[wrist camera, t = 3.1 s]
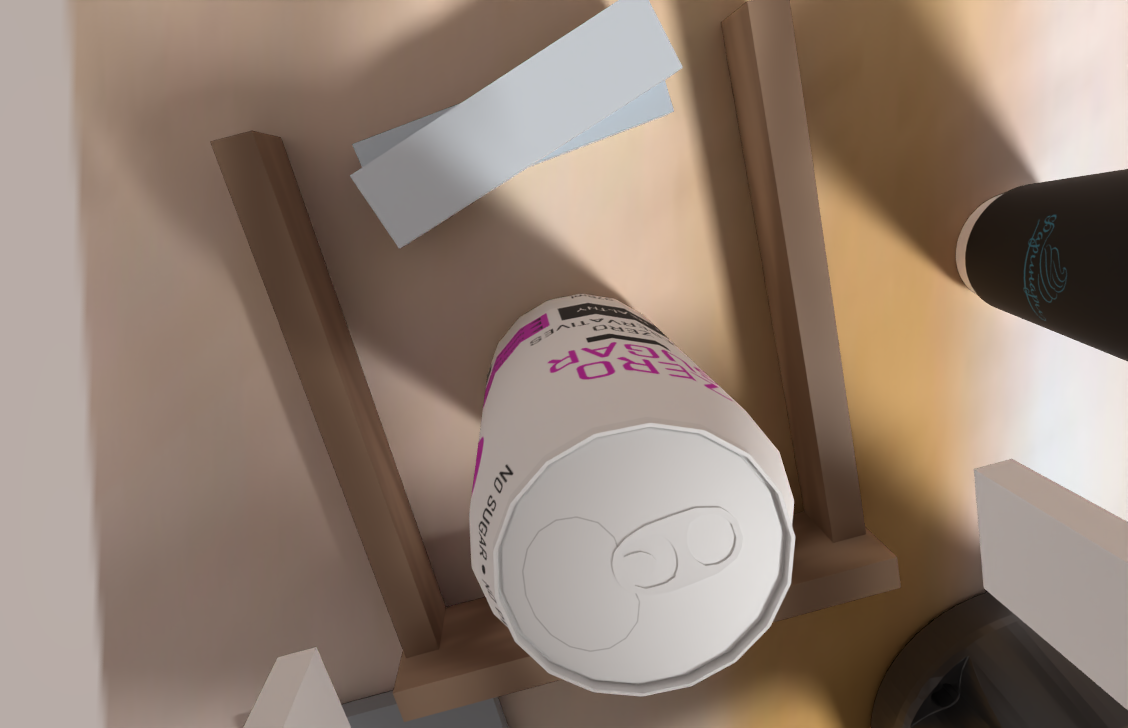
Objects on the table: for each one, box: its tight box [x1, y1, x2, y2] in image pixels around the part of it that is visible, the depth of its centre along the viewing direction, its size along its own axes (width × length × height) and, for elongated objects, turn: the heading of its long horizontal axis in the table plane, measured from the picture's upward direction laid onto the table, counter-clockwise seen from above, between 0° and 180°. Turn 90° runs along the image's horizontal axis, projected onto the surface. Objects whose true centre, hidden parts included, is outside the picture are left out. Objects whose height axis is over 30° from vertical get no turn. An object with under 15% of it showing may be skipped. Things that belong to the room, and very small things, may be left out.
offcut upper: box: [350, 0, 683, 248], centre depth 24 cm, size 12×3×2 cm, turn 121°
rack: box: [211, 0, 901, 722], centre depth 27 cm, size 22×24×5 cm
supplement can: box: [469, 294, 795, 697], centre depth 22 cm, size 8×8×15 cm
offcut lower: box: [352, 80, 674, 167], centre depth 26 cm, size 12×3×2 cm, turn 110°
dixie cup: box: [956, 169, 1128, 361], centre depth 24 cm, size 8×8×11 cm
